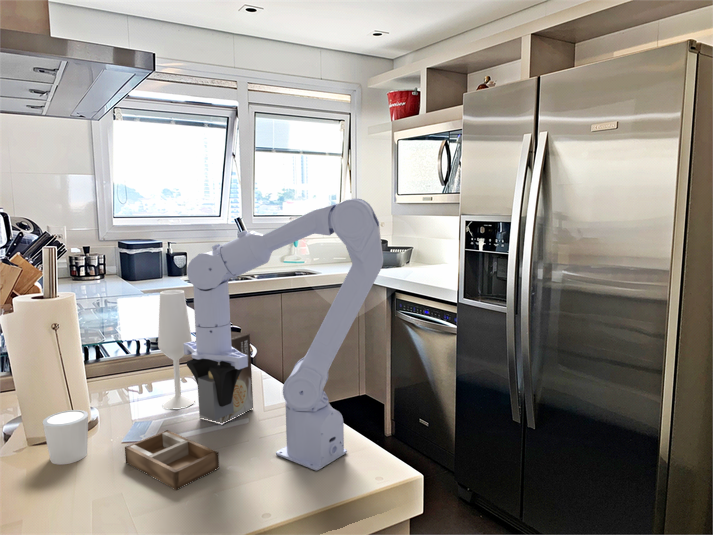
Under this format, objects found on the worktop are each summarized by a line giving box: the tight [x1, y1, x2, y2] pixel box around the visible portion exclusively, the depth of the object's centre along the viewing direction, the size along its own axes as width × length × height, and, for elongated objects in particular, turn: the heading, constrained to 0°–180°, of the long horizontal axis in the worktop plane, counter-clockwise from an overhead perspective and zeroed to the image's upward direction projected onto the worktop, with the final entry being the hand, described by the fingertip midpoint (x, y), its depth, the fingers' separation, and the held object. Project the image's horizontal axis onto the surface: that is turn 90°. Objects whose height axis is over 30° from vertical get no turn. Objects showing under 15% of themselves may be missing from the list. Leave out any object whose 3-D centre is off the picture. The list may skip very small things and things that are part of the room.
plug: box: [197, 371, 234, 420], centre depth 93 cm, size 4×4×8 cm
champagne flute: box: [157, 289, 195, 409], centre depth 114 cm, size 7×7×24 cm
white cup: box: [42, 409, 89, 465], centre depth 93 cm, size 7×7×7 cm
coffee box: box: [194, 331, 254, 423], centre depth 109 cm, size 9×6×16 cm
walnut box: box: [124, 429, 220, 491], centre depth 90 cm, size 14×8×3 cm, turn 52°
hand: (216, 401), depth 94 cm, fingers closed on plug, 4 cm apart
